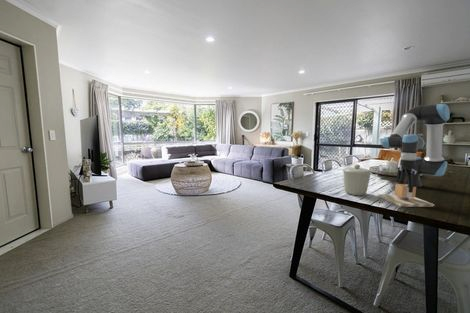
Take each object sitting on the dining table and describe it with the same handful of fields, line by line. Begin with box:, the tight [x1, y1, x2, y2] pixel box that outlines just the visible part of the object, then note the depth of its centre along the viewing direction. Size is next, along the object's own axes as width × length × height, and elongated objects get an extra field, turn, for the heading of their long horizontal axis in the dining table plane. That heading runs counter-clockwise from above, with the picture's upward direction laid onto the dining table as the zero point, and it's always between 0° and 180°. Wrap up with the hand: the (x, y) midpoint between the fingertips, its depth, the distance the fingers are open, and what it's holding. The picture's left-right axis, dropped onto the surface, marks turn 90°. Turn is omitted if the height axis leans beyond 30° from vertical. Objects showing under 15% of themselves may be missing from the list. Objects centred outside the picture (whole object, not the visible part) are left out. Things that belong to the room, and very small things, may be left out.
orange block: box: [394, 183, 417, 197], centre depth 139 cm, size 8×6×7 cm
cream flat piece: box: [377, 193, 435, 208], centre depth 140 cm, size 20×20×6 cm
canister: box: [342, 164, 373, 196], centre depth 156 cm, size 18×18×21 cm
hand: (404, 195), depth 139 cm, fingers closed on orange block, 6 cm apart
